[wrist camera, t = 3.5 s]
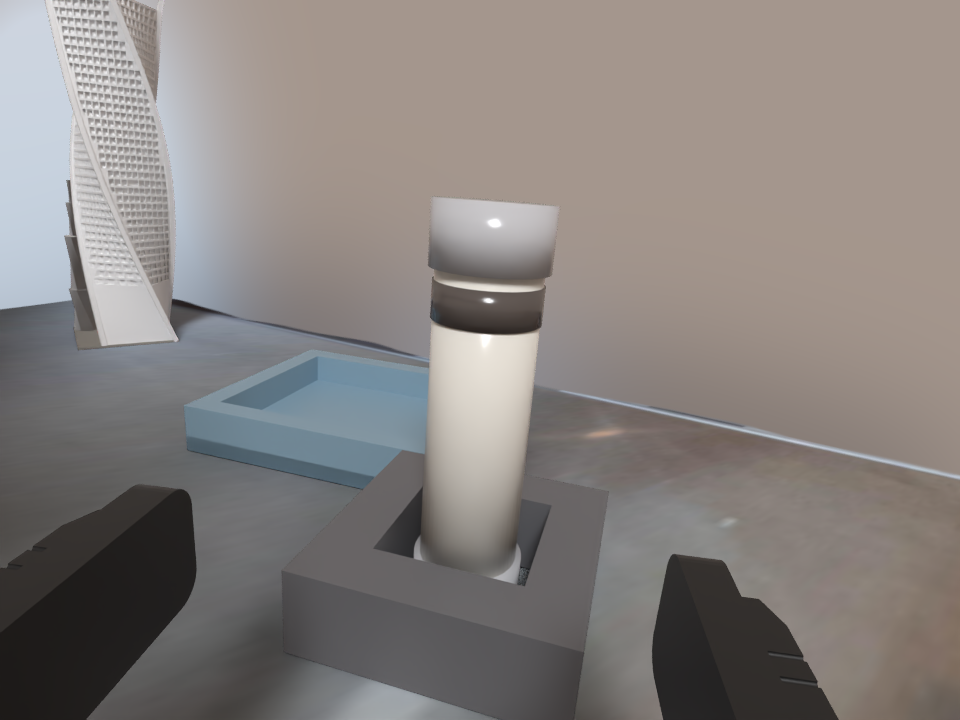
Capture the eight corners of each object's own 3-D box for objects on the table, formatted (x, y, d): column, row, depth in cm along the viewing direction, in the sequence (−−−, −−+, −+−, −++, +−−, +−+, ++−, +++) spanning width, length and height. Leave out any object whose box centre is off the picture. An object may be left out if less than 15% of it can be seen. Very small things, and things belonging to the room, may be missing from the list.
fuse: (394, 618, 20) (411, 196, 16) (433, 555, 24) (455, 196, 20) (501, 648, 19) (547, 207, 15) (525, 578, 23) (567, 205, 19)
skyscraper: (181, 324, 55) (157, -12, 47) (200, 346, 49) (175, -36, 41) (74, 332, 50) (26, -42, 42) (79, 357, 44) (24, -75, 36)
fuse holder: (283, 652, 18) (281, 570, 17) (400, 509, 27) (402, 449, 26) (570, 740, 16) (583, 652, 15) (598, 555, 24) (608, 491, 23)
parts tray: (187, 449, 31) (183, 405, 30) (311, 382, 42) (311, 349, 41) (438, 506, 27) (441, 457, 26) (501, 416, 38) (504, 380, 38)
